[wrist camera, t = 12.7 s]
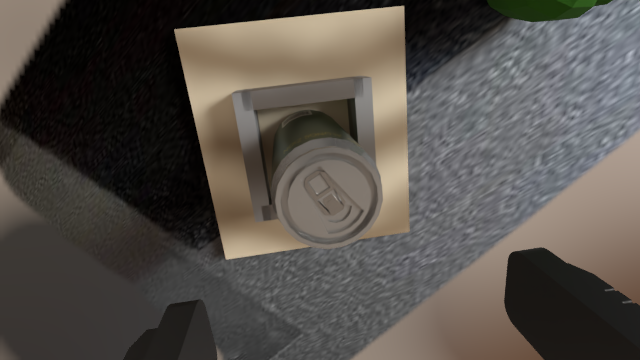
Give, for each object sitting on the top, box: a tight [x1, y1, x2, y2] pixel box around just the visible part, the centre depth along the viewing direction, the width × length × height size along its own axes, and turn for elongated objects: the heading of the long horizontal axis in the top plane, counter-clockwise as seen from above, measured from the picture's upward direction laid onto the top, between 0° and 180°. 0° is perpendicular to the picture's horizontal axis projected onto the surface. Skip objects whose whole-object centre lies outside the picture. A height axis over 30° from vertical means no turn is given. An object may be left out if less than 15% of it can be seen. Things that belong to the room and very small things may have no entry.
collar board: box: [174, 6, 409, 260], centre depth 26 cm, size 18×16×4 cm
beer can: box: [270, 110, 383, 249], centre depth 21 cm, size 5×5×12 cm
